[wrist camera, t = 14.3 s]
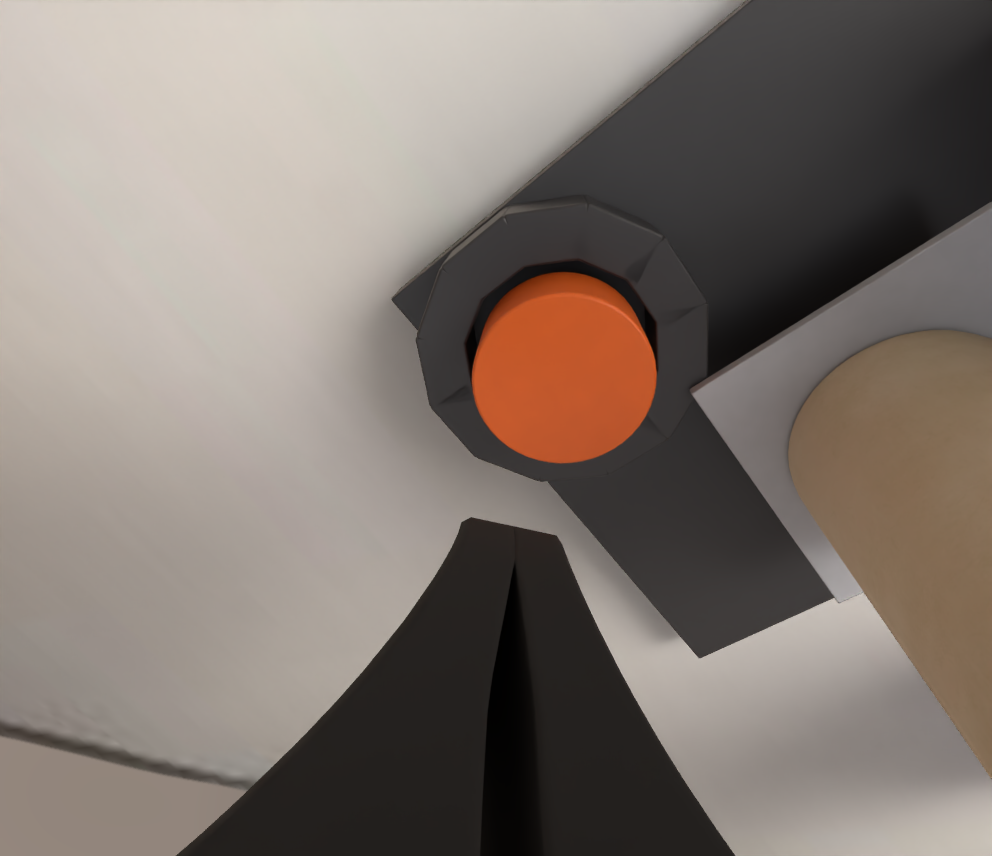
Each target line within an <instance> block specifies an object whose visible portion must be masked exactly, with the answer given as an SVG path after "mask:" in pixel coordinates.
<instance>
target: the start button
mask: <svg viewBox="0 0 992 856" xmlns="http://www.w3.org/2000/svg"><path fill="white" fill-rule="evenodd" d="M656 380H657V370H656V361H655V358H654V354H653V350H652V348H651V345H650V343H649V341H648V338H647V336H646V334H645V332H644V330H643V328H642V326H641V324H640V322H639V320H638V318H637V316H636V314H635V312H634V311H633V309H632V307H631V306H630V304H629V303H628V302H627V301H626V299H625V298H624V297H623V296H622V295H621V294H620V293H619V292H618V291H616V290H615V289H614V288H612V287H611V286H610V285H608V284H607V283H605V282H603V281H601V280H599V279H597V278H594V277H591V276H588V275H584V274H579V273H573V272H554V273H548V274H543V275H539V276H536V277H533V278H530V279H528V280H526V281H524V282H522V283H520V284H519V285H517V286H516V287H514V288H513V289H511V290H510V291H509V292H508V293H507V294H506V295H504V296H503V297H502V298H501V300H500V301H499V302H498V303H497V304H496V305H495V307H494V308H493V310H492V311H491V313H490V315H489V317H488V319H487V321H486V323H485V326H484V329H483V332H482V335H481V338H480V342H479V345H478V349H477V352H476V355H475V359H474V363H473V369H472V389H473V395H474V399H475V403H476V406H477V408H478V411H479V413H480V415H481V417H482V419H483V421H484V422H485V424H486V425H487V426H488V428H489V429H490V430H491V432H492V433H493V434H494V435H495V436H496V437H497V438H498V439H499V440H500V441H502V442H503V443H504V444H505V445H507V446H508V447H509V448H511V449H513V450H514V451H516V452H518V453H520V454H522V455H524V456H527V457H529V458H532V459H536V460H539V461H544V462H550V463H574V462H581V461H585V460H589V459H593V458H596V457H598V456H601V455H603V454H605V453H607V452H609V451H611V450H613V449H615V448H616V447H617V446H619V445H620V444H622V443H623V442H624V441H625V440H626V439H628V438H629V437H630V436H631V435H632V434H633V433H634V432H635V430H636V429H637V428H638V427H639V426H640V424H641V423H642V421H643V420H644V418H645V417H646V415H647V413H648V411H649V409H650V407H651V404H652V401H653V398H654V394H655V389H656Z"/></svg>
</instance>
